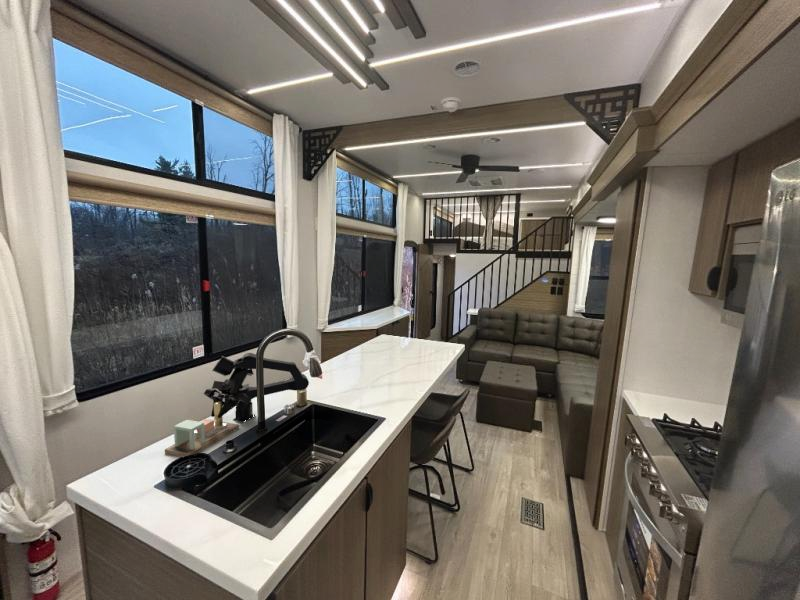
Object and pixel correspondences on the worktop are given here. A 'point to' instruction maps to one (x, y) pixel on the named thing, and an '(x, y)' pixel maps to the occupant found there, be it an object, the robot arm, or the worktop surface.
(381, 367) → the worktop surface
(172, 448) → the track board
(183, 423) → the tunnel
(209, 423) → the terracotta block
